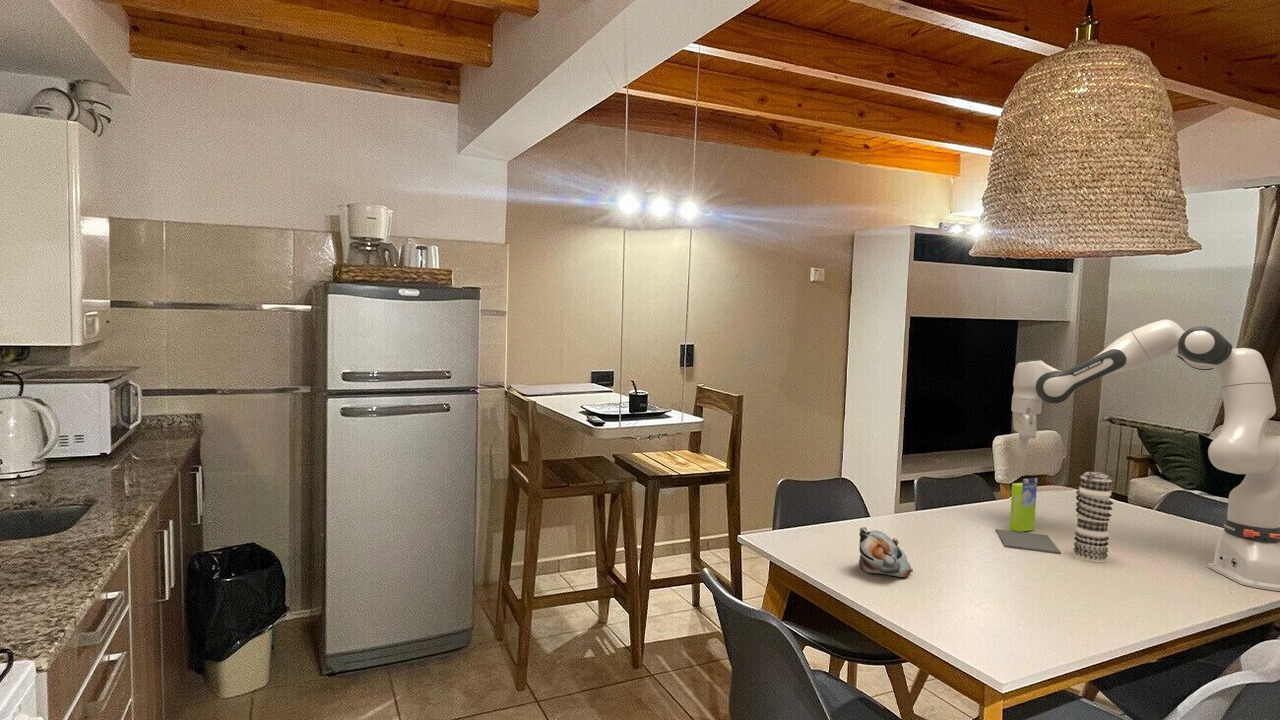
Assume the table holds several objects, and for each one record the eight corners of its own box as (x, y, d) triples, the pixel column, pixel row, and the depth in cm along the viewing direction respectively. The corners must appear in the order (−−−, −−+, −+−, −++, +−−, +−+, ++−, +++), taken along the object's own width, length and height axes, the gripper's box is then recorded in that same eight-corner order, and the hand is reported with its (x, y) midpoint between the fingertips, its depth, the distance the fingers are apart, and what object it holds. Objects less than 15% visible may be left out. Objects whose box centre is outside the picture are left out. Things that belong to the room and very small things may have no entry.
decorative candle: (1081, 551, 216) (1087, 469, 215) (1114, 560, 208) (1121, 475, 207) (1065, 555, 211) (1071, 471, 210) (1099, 564, 204) (1105, 477, 202)
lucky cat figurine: (922, 578, 186) (916, 537, 180) (882, 598, 184) (875, 557, 178) (887, 545, 199) (881, 506, 193) (850, 562, 197) (842, 524, 192)
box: (1023, 527, 241) (1025, 475, 241) (1035, 529, 238) (1038, 477, 238) (1008, 530, 235) (1011, 477, 235) (1021, 532, 231) (1024, 479, 231)
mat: (1060, 554, 212) (1061, 552, 212) (1004, 547, 217) (1004, 545, 217) (1047, 536, 230) (1047, 535, 230) (995, 530, 235) (995, 529, 235)
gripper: (1043, 411, 231) (1039, 453, 232) (1031, 405, 250) (1028, 444, 251) (1021, 409, 233) (1018, 451, 234) (1011, 403, 252) (1008, 442, 253)
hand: (1023, 447), depth 243 cm, fingers closed
